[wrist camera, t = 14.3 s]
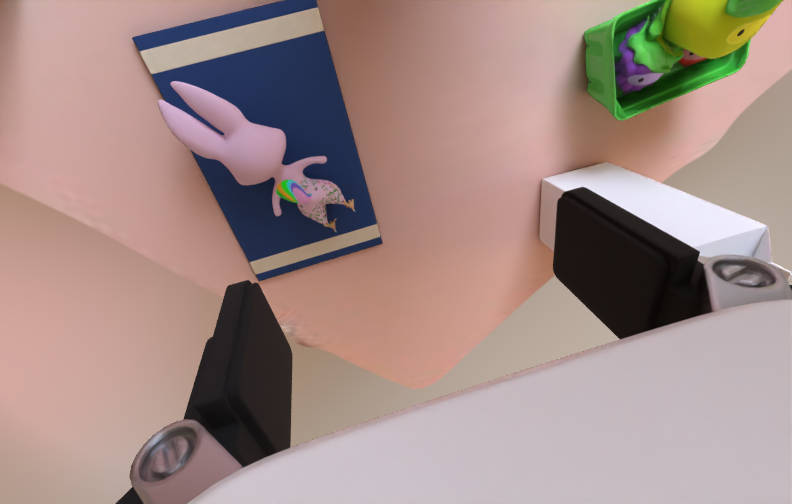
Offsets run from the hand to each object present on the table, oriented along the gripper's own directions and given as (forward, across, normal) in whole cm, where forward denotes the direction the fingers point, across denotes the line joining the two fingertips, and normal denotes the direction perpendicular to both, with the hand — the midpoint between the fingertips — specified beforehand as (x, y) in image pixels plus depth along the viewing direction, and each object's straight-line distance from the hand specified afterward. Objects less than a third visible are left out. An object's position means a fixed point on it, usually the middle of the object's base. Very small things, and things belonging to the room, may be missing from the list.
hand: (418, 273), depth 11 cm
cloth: (+22, +6, +2) cm, 22 cm away
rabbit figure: (+21, +6, +1) cm, 22 cm away
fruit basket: (+22, -25, -1) cm, 34 cm away
